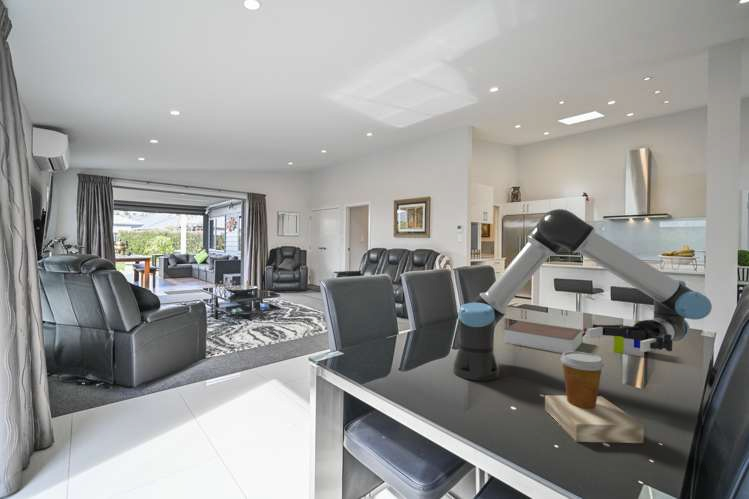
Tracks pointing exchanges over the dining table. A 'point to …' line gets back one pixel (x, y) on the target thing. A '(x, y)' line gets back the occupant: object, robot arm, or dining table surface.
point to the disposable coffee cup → (581, 378)
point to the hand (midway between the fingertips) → (613, 339)
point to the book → (543, 336)
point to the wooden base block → (594, 421)
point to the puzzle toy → (627, 346)
